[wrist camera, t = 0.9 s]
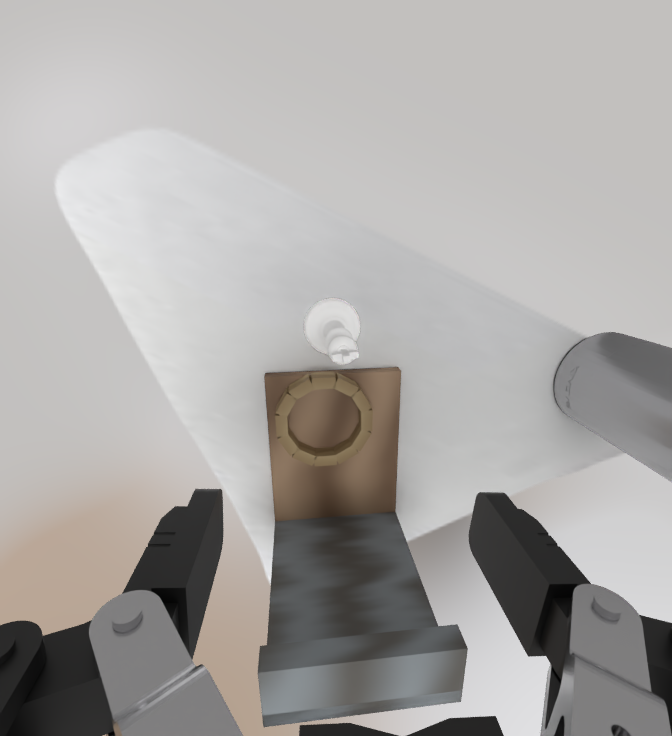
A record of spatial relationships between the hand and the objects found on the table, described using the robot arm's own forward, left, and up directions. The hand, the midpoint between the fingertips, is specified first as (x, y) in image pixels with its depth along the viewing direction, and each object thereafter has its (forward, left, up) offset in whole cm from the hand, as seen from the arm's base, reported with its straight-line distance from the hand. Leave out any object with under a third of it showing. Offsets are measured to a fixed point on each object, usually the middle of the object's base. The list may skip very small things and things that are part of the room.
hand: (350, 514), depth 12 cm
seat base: (-2, +11, -23) cm, 25 cm away
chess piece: (-2, -1, -23) cm, 23 cm away
